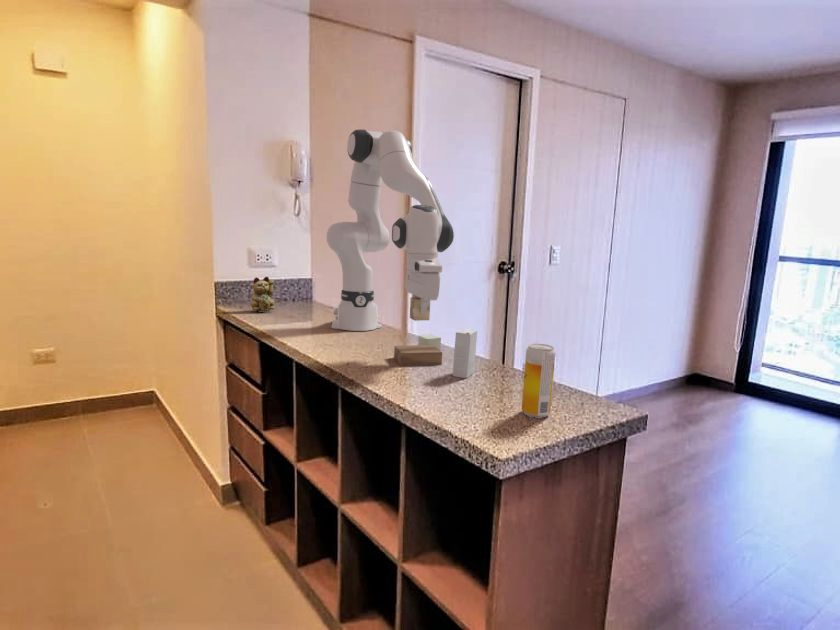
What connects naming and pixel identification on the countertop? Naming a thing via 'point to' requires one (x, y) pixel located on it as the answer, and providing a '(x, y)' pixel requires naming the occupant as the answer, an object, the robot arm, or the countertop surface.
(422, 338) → the sage cube
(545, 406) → the beer can
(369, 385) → the countertop surface
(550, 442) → the countertop surface
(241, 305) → the countertop surface
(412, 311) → the oak block
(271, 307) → the decorative figurine
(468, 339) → the skincare box
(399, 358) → the walnut block
